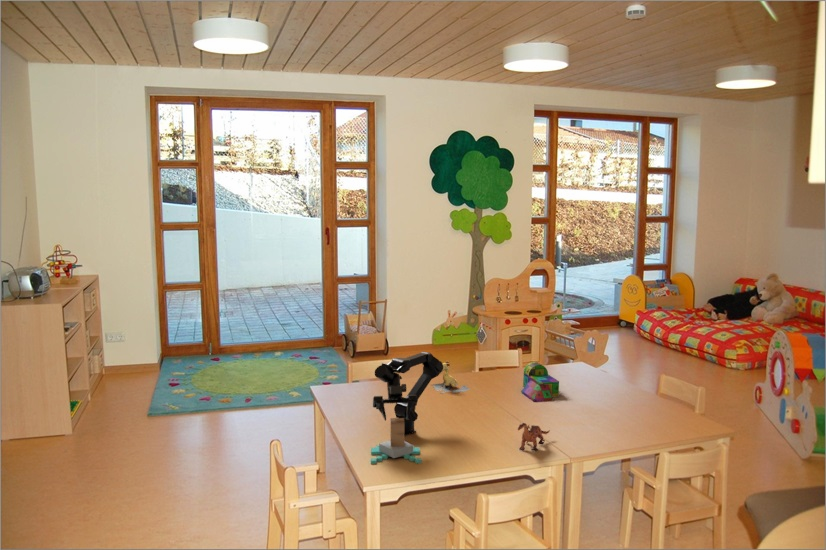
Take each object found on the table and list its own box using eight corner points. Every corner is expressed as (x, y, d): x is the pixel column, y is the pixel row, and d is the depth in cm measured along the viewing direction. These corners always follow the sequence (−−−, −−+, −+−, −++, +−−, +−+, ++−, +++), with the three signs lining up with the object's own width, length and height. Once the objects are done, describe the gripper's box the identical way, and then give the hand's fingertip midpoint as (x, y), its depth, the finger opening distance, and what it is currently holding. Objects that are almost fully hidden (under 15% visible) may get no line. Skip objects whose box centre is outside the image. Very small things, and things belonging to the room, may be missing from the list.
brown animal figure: (508, 458, 268) (510, 423, 266) (533, 434, 294) (534, 402, 291) (528, 463, 264) (530, 427, 262) (551, 438, 289) (552, 405, 287)
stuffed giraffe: (430, 385, 365) (431, 357, 363) (460, 383, 371) (462, 356, 368) (440, 395, 350) (441, 366, 348) (471, 393, 356) (473, 364, 353)
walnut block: (390, 441, 273) (390, 418, 271) (403, 441, 273) (403, 418, 272) (390, 446, 267) (390, 423, 266) (404, 446, 267) (404, 422, 266)
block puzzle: (514, 387, 363) (514, 362, 361) (542, 385, 367) (543, 361, 365) (533, 402, 339) (534, 375, 337) (563, 400, 343) (564, 373, 341)
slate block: (398, 444, 277) (398, 437, 277) (413, 452, 269) (413, 445, 269) (379, 450, 271) (379, 443, 270) (393, 458, 263) (393, 451, 263)
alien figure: (421, 465, 262) (418, 446, 282) (421, 460, 261) (418, 441, 281) (370, 466, 261) (371, 446, 281) (370, 460, 260) (371, 441, 280)
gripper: (373, 377, 275) (375, 412, 265) (417, 376, 278) (421, 410, 268) (371, 390, 284) (373, 423, 274) (414, 388, 286) (417, 422, 277)
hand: (396, 419), depth 273 cm, fingers open, 9 cm apart
